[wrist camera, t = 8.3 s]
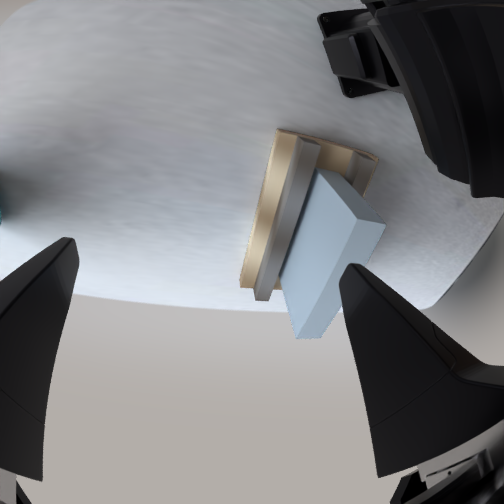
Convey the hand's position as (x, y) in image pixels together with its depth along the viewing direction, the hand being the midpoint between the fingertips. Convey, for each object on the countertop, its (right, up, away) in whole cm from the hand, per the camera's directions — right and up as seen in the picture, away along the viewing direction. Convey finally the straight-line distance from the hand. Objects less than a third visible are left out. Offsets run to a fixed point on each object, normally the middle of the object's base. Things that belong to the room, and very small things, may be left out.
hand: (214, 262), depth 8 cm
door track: (+5, +3, +14) cm, 15 cm away
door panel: (+5, +2, +13) cm, 14 cm away
